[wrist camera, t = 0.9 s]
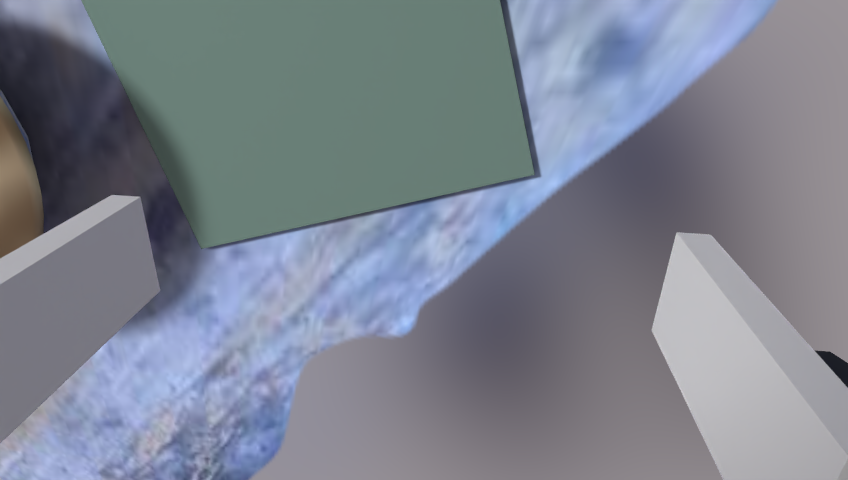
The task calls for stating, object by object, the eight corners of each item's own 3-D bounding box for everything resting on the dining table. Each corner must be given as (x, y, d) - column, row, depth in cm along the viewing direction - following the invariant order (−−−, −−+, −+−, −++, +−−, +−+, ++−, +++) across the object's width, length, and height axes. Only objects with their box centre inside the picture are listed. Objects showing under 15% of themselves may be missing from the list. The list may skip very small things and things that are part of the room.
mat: (23, -133, 35) (16, -135, 35) (439, -306, 30) (438, -312, 29) (204, 245, 46) (201, 248, 45) (533, 172, 40) (534, 174, 40)
